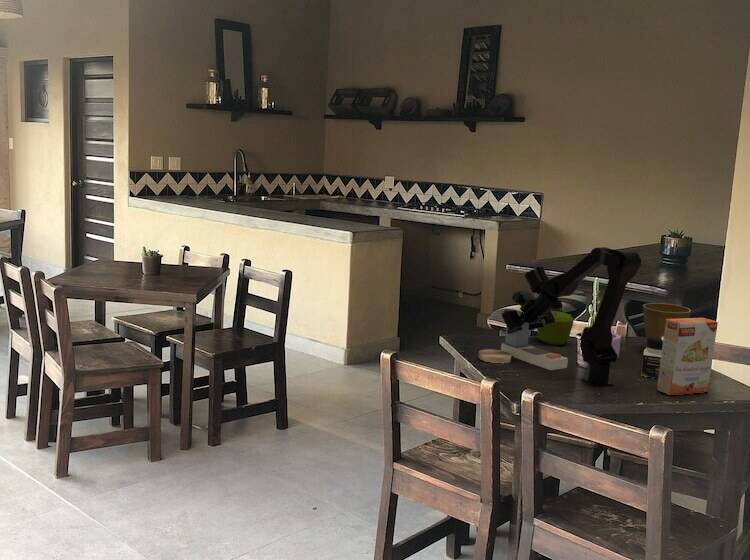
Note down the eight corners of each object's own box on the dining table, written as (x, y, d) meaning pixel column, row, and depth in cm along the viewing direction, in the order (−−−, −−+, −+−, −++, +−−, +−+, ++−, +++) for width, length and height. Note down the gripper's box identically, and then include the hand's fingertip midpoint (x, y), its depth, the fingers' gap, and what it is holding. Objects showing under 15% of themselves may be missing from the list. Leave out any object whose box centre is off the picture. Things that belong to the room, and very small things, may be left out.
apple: (538, 336, 284) (541, 305, 282) (573, 341, 279) (576, 309, 277) (531, 343, 272) (534, 311, 270) (567, 349, 268) (570, 316, 266)
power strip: (566, 367, 244) (568, 355, 243) (550, 370, 240) (551, 358, 240) (516, 350, 262) (517, 338, 262) (500, 352, 258) (501, 340, 258)
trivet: (515, 364, 245) (516, 357, 245) (485, 364, 243) (485, 358, 242) (503, 355, 255) (503, 349, 254) (473, 355, 252) (474, 349, 252)
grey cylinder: (527, 345, 256) (529, 320, 255) (515, 346, 254) (518, 321, 252) (516, 341, 260) (518, 317, 259) (505, 342, 258) (507, 318, 256)
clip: (580, 344, 276) (582, 324, 275) (618, 349, 273) (620, 329, 272) (578, 358, 257) (580, 337, 256) (618, 363, 254) (621, 342, 253)
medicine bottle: (640, 376, 239) (645, 337, 237) (641, 371, 245) (646, 332, 243) (666, 380, 236) (670, 341, 234) (666, 374, 243) (671, 336, 241)
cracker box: (671, 397, 220) (680, 323, 216) (655, 390, 225) (664, 318, 222) (709, 393, 225) (719, 321, 222) (693, 387, 231) (702, 316, 227)
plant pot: (640, 346, 278) (645, 301, 275) (686, 353, 272) (692, 306, 269) (635, 355, 264) (640, 307, 262) (683, 362, 258) (689, 314, 256)
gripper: (551, 282, 256) (524, 309, 266) (508, 285, 245) (481, 313, 256) (567, 311, 250) (539, 337, 261) (524, 315, 240) (496, 342, 251)
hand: (514, 332), depth 258 cm, fingers closed on grey cylinder, 5 cm apart
